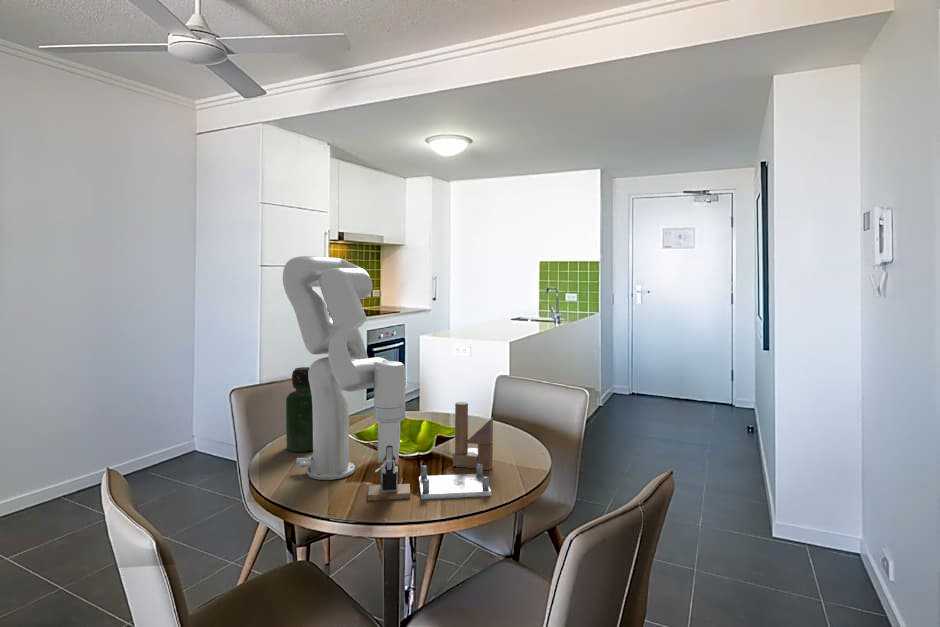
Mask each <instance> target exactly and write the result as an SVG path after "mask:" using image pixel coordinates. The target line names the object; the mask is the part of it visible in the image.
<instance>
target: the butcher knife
mask: <svg viewBox="0 0 940 627" xmlns="http://www.w3.org/2000/svg"><path fill="white" fill-rule="evenodd" d="M468 452H474V453H476V454H478V447H477V448H476V447H468Z"/></svg>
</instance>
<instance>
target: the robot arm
mask: <svg viewBox="0 0 940 627" xmlns="http://www.w3.org/2000/svg"><path fill="white" fill-rule="evenodd" d="M282 284H283V289H284V292H285V293H286V296H287V298H288V300H289V303H290V304H291V307H292V308H293V310H294V313H295V316H296V320H297V324H298V327H299V331H300V333H301V338H302V340H303V343H304V346H305V348H306V351H307V352H308V353H310V354H312V355H318V356H319V355H327V356H325V357H321V358H318V359H317V360H315V361H313V362H312V363H311V364H310V366H309V367H310V368H309V371H308V379H309V384H310V389H311V395H312V410H313V451H312V455H311V456H308V457H297V458H296V462H295V463H296V466H299V468H306V467H307V470H306V474H307V476H308V477H309V478H310V479H313V480H319V481H331V480H339V479H344V478H347V477H348V476H351V475H353V473H355V470H356V466H355V464H354V463H353V462H350V414H349V413H350V410H349V404H348V402H347V400H346V398H345V397H344V395H343V393H342V391H346V392H348V393H349V392H357V391H361V390H368V389H373V405H374V406H373V420H374V421H376V422H378V423H377V424H378V425H377V463H378V464H381V463H383V467H384V473H383V490H395V489H396V472H395V466H397V462H398V461H399V456H400V446H401V444H400V443H401V422H402V421H404V420H406V365H405V364H404V363H403V362H400V361H394V360H388V359H386V358H383V357H375V356H374V357H369V356H368V353H367V350H366V347H365V344H364V341H363V338H362V335H361V332H360V330H359V328H361V327H362V326H363V325H364V324H365V323H366V321H367V315H366V312H365V311H364V308H363V305H362V302H361V300H362V299H363V300H364V299H366V298H368V297H369V296H370V295H371V293H372V291H373V290H372V289H373V282H372V278H371V276H370V275H369V273H368V272H367V271H366V270H365V269H364V268H362V267H360V266H358V265H356V264H354V263H351V262H349V261H347V260H345V259H343V258H339V257H333V256H330V257H328V256H318V255H317V256H314V255H301V256H296V257H292V258H290V259H289V260H287V262H286V263H285V265H284V267H283V271H282ZM313 288H320V291H321V294H322V297H323V298H322V297H321V296H320V295H319V294H318V293H317V292H316V291H315V290H314V289H313Z"/></svg>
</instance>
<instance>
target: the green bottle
mask: <svg viewBox="0 0 940 627" xmlns="http://www.w3.org/2000/svg"><path fill="white" fill-rule="evenodd" d="M309 368H310V366H308V367H307V366H304V367H295V368H294V370H292V374H291V383H292V387H293V388H294V389H295V390H293V391H291V392H290V393H289V394H288V395H287V396H286V399H285V408H286V409H285V410H286V412H285V414H286V415H285V416H286V417H285V418H286V419H285V420H286V424H285V426H286V449H287V450H288V451H290V452H294V453H306V452H313V410H312V395H311V389H310V384H309V379H308V371H309Z"/></svg>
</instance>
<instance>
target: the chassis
mask: <svg viewBox="0 0 940 627" xmlns="http://www.w3.org/2000/svg"><path fill="white" fill-rule="evenodd" d="M475 470H476V473H468V474H467V473H466V474H445V475H444V474H442V475H439V474H438V475H428V466H427V465H421V466H420V476H419V477H418V481H419V482H418V483H419V491H420V499H421V500H431V499H432V500H433V499H434V500H435V499H455V498H456V499H457V498H458V499H459V498H477V497H492V490H491V488H490V483H489V482H490V477H489V476H487V475H484V473H483V472H484V470H483V464H482V463H477V468H476V469H475Z"/></svg>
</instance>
